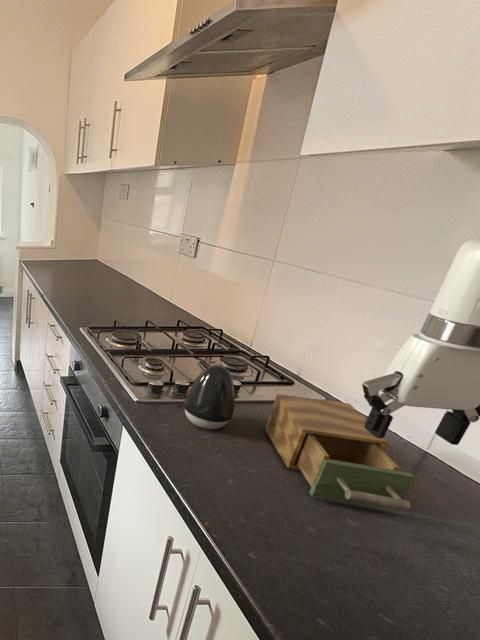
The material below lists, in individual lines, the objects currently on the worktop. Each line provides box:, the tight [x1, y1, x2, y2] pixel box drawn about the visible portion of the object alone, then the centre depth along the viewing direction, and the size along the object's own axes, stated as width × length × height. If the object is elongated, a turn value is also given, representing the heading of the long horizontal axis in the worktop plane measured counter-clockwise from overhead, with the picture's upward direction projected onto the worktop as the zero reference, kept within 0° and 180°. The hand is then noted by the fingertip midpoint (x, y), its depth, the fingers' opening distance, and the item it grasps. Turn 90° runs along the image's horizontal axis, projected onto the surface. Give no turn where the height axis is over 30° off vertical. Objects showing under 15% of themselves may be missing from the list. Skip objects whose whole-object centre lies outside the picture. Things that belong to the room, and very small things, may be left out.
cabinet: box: [264, 393, 389, 471], centre depth 87 cm, size 15×14×10 cm
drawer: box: [295, 433, 415, 513], centre depth 76 cm, size 18×12×8 cm
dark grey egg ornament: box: [183, 360, 235, 430], centre depth 97 cm, size 10×10×15 cm
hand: (408, 436), depth 63 cm, fingers open, 9 cm apart
